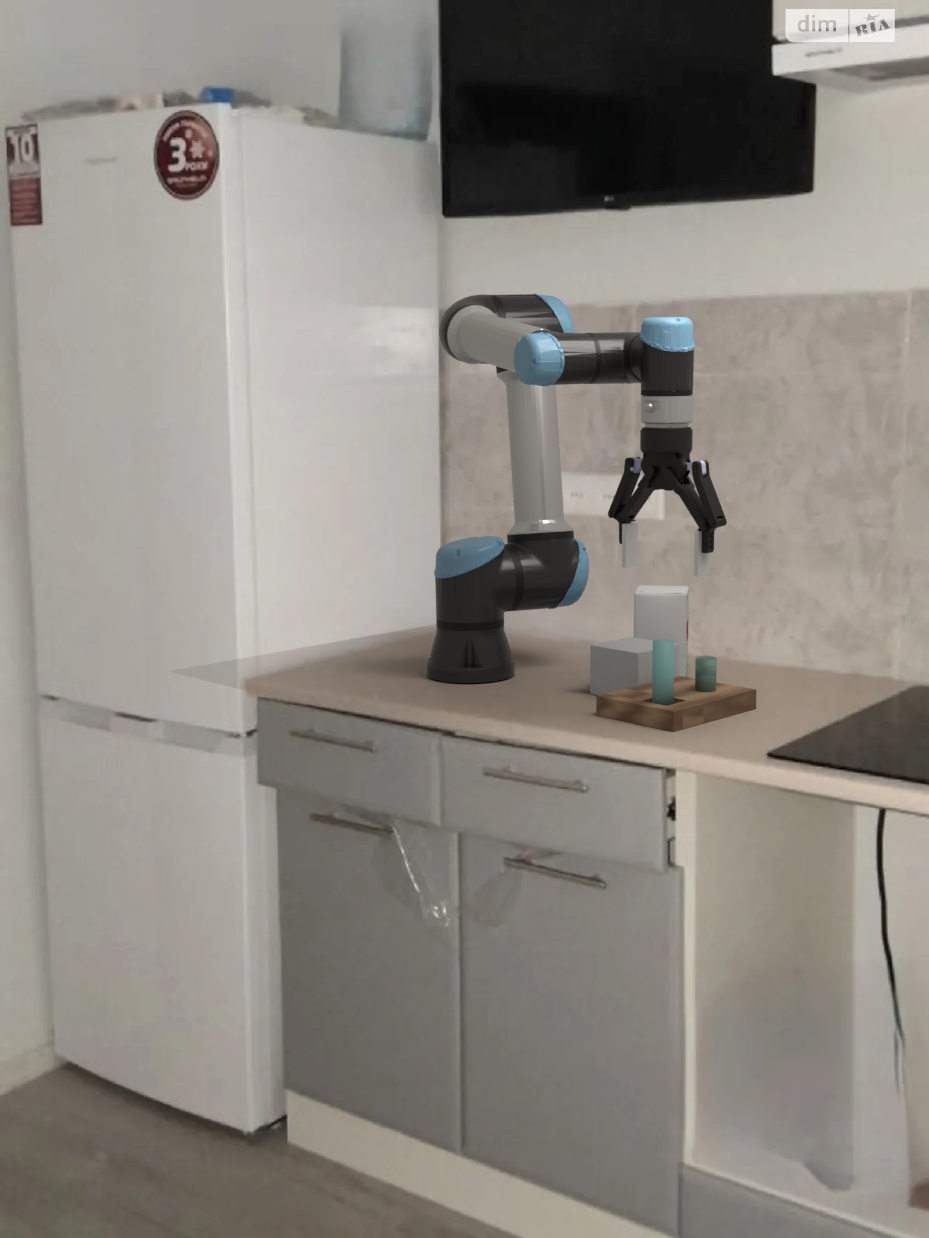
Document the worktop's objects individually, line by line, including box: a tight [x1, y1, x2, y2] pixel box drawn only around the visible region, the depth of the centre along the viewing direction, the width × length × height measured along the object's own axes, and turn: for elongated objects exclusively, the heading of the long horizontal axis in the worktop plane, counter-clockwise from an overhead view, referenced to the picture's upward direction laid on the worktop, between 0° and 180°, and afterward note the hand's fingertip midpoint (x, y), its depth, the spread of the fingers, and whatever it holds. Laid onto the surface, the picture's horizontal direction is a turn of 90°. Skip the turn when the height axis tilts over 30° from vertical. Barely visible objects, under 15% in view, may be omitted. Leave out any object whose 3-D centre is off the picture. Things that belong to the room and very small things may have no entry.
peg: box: [652, 639, 674, 706], centre depth 227 cm, size 3×3×12 cm
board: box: [595, 655, 757, 732], centre depth 232 cm, size 15×20×8 cm
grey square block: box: [589, 636, 679, 696], centre depth 245 cm, size 10×10×8 cm
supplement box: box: [633, 584, 690, 677], centre depth 258 cm, size 9×9×15 cm
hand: (665, 571), depth 224 cm, fingers open, 13 cm apart
